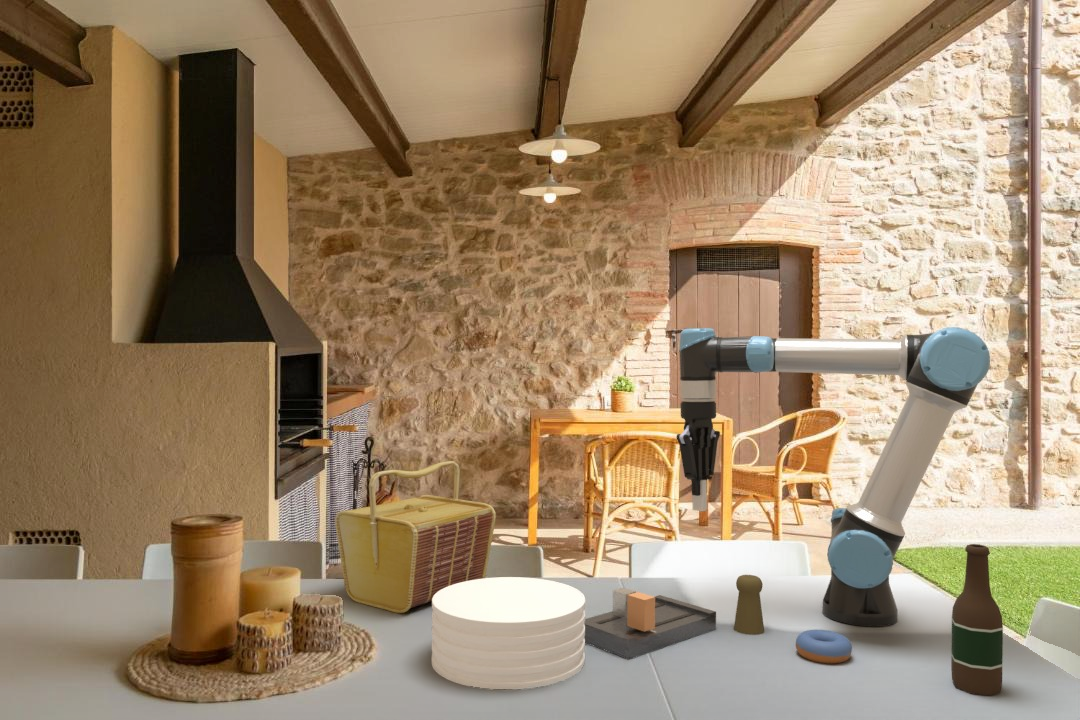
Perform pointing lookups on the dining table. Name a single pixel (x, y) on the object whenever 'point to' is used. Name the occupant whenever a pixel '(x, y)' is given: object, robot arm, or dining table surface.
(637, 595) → the fader
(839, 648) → the doughnut
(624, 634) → the slider panel
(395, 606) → the picnic basket
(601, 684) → the dining table surface
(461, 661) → the plate stack
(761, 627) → the cork
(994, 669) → the beer bottle
